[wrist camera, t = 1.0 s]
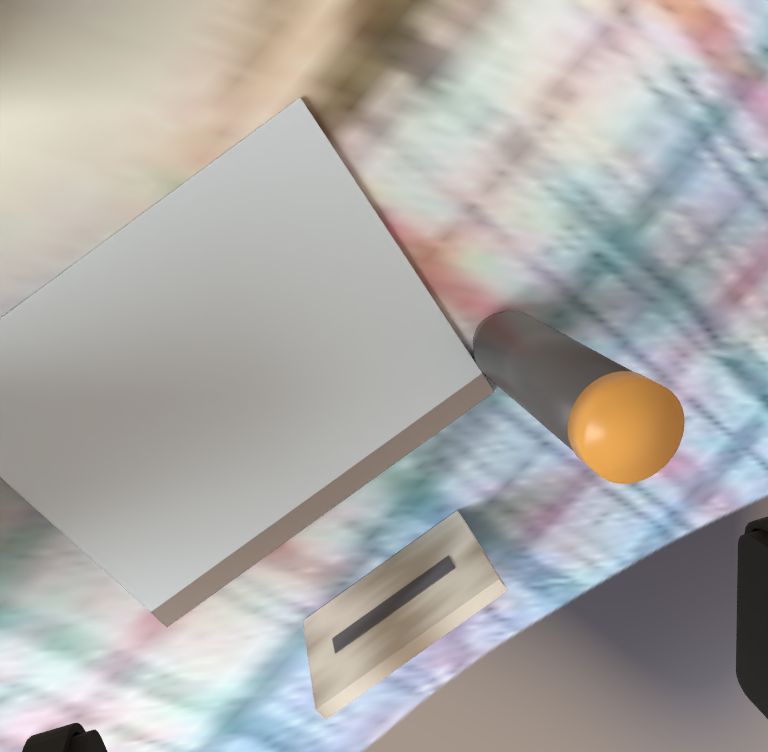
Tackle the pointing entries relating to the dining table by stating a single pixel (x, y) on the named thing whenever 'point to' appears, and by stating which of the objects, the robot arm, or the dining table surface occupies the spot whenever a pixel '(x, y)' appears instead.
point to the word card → (397, 612)
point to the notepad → (225, 370)
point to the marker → (582, 396)
